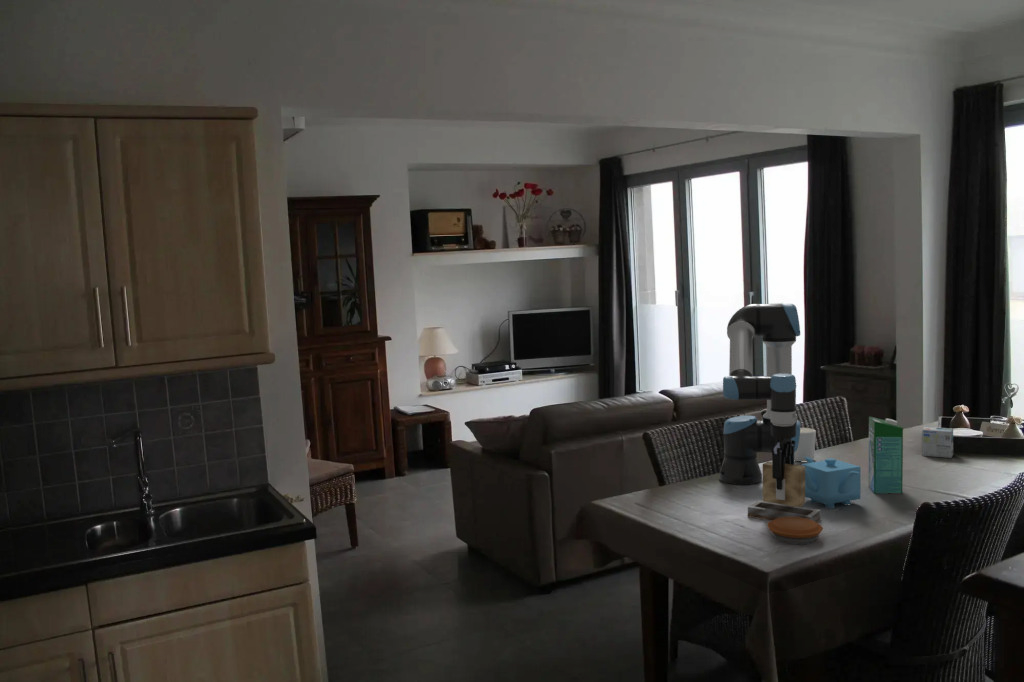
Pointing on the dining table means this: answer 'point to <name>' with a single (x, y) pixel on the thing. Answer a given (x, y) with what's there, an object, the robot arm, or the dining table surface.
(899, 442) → the milk carton
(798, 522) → the pie
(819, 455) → the dining table surface
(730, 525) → the dining table surface
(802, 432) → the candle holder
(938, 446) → the light bulb box
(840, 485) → the blue lidded box
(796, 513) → the tray
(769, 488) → the beige square slab
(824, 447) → the dining table surface
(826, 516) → the dining table surface
